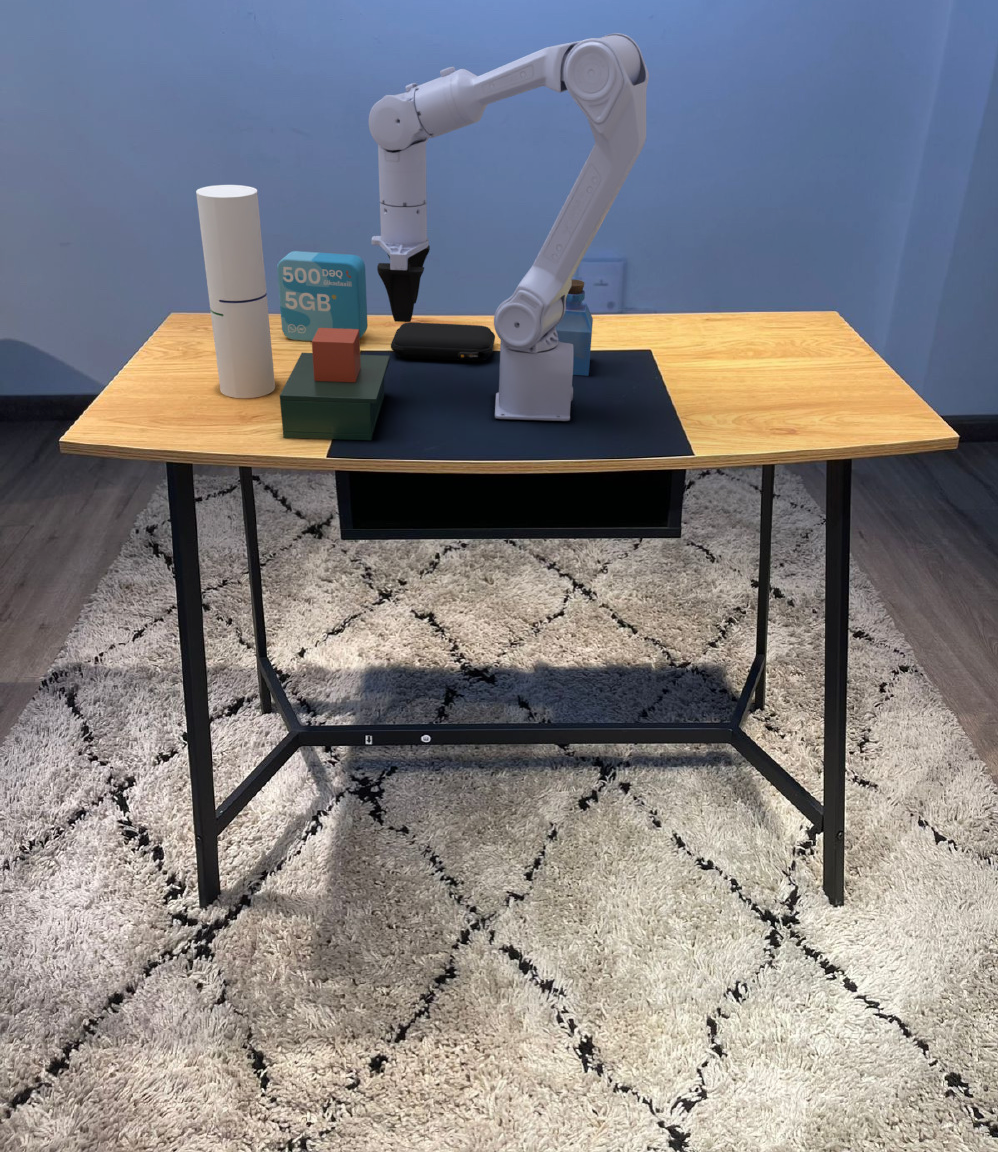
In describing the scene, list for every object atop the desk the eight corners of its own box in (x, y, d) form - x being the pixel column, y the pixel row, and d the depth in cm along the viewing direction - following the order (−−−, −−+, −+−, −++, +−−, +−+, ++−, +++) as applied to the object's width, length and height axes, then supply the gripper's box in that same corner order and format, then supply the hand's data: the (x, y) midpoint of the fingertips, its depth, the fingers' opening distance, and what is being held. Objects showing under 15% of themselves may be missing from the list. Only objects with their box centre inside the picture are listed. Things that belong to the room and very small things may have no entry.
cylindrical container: (262, 400, 132) (242, 199, 119) (210, 395, 133) (185, 194, 120) (283, 381, 138) (266, 187, 125) (233, 375, 139) (211, 183, 126)
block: (360, 367, 128) (359, 329, 125) (355, 382, 124) (353, 342, 121) (321, 366, 128) (318, 327, 125) (314, 381, 124) (311, 341, 121)
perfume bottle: (589, 360, 148) (596, 277, 142) (588, 375, 143) (595, 290, 137) (547, 357, 149) (551, 275, 142) (544, 372, 143) (549, 287, 137)
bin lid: (389, 360, 132) (389, 355, 132) (376, 403, 120) (376, 398, 120) (302, 356, 132) (301, 352, 132) (279, 399, 120) (279, 395, 120)
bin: (384, 394, 135) (383, 359, 132) (371, 440, 123) (369, 403, 120) (304, 392, 135) (302, 357, 132) (283, 437, 123) (279, 400, 120)
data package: (282, 339, 152) (275, 258, 146) (291, 329, 156) (285, 249, 149) (361, 345, 151) (357, 263, 144) (368, 335, 155) (365, 255, 148)
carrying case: (388, 363, 145) (491, 367, 144) (387, 342, 143) (492, 347, 143) (398, 338, 154) (495, 342, 153) (397, 318, 152) (495, 322, 152)
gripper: (377, 188, 131) (381, 293, 138) (362, 214, 118) (367, 328, 126) (432, 190, 131) (433, 295, 138) (423, 216, 118) (424, 330, 126)
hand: (405, 311), depth 132 cm, fingers open, 7 cm apart
